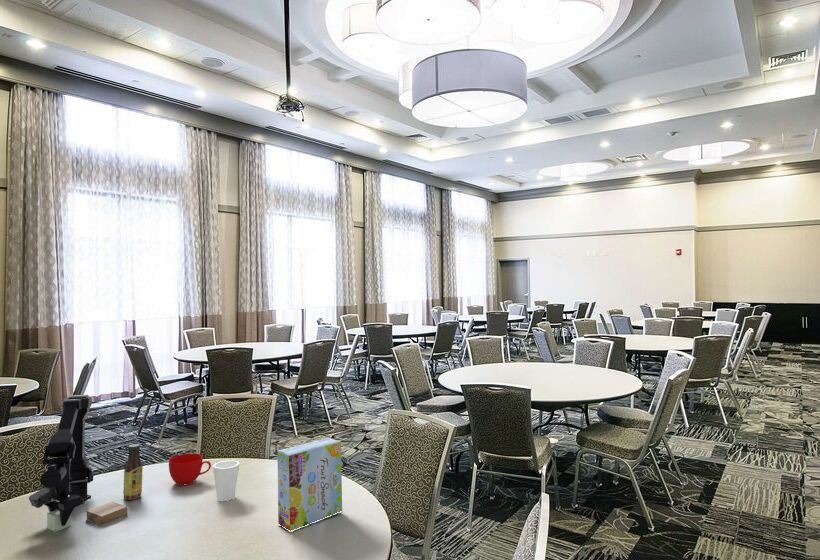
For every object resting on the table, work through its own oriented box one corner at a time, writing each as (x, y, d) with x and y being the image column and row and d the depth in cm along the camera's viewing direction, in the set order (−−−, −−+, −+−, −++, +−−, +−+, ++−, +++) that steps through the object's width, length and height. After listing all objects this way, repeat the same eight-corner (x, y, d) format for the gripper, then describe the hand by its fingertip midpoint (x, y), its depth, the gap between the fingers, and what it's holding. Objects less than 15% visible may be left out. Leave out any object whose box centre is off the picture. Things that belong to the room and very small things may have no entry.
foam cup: (207, 501, 193) (207, 466, 194) (224, 492, 202) (225, 459, 202) (227, 505, 190) (227, 469, 190) (244, 495, 198) (244, 462, 199)
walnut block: (86, 521, 178) (86, 510, 178) (112, 511, 186) (112, 501, 186) (101, 526, 173) (101, 516, 173) (127, 516, 181) (127, 506, 181)
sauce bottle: (133, 501, 193) (134, 448, 193) (119, 500, 194) (119, 447, 195) (145, 494, 199) (146, 443, 200) (132, 493, 201) (132, 442, 201)
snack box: (328, 506, 189) (329, 436, 189) (343, 514, 182) (343, 441, 183) (276, 525, 173) (276, 449, 174) (289, 534, 167) (290, 454, 168)
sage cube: (47, 528, 171) (47, 513, 172) (63, 522, 176) (63, 507, 176) (54, 531, 169) (55, 516, 169) (71, 525, 173) (71, 510, 173)
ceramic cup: (204, 488, 206) (204, 463, 206) (162, 488, 206) (162, 463, 206) (216, 477, 219) (216, 453, 219) (177, 476, 219) (177, 453, 219)
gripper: (18, 479, 170) (17, 527, 170) (47, 490, 161) (47, 540, 161) (55, 469, 180) (54, 514, 180) (84, 479, 171) (84, 526, 170)
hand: (59, 523), depth 172 cm, fingers closed on sage cube, 5 cm apart
